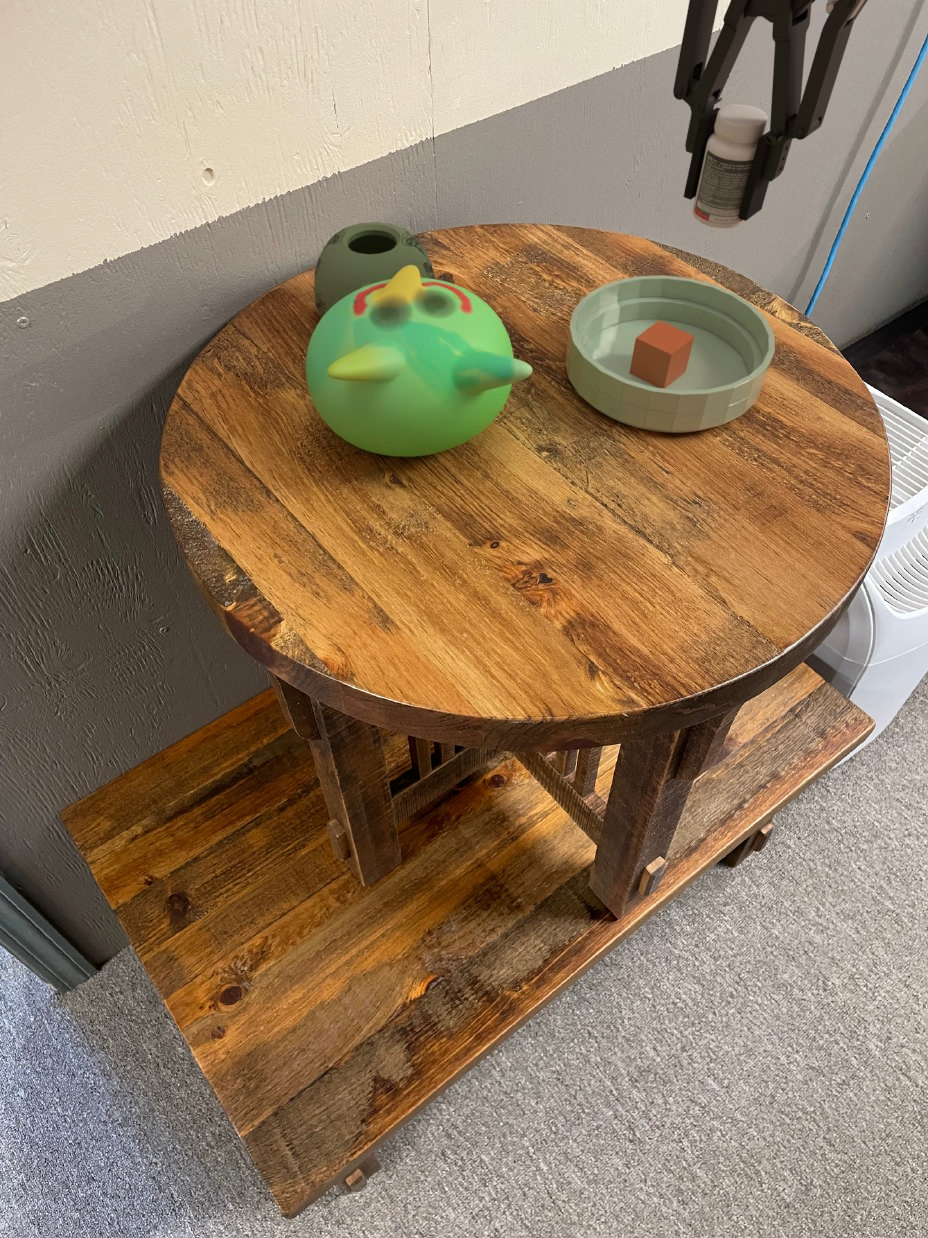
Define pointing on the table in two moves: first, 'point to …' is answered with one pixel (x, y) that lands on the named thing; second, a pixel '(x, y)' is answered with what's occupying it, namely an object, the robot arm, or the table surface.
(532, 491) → the table surface
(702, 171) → the pill bottle
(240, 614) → the table surface
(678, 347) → the block
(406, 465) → the table surface
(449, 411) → the toy bird
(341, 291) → the mug
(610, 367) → the bowl
